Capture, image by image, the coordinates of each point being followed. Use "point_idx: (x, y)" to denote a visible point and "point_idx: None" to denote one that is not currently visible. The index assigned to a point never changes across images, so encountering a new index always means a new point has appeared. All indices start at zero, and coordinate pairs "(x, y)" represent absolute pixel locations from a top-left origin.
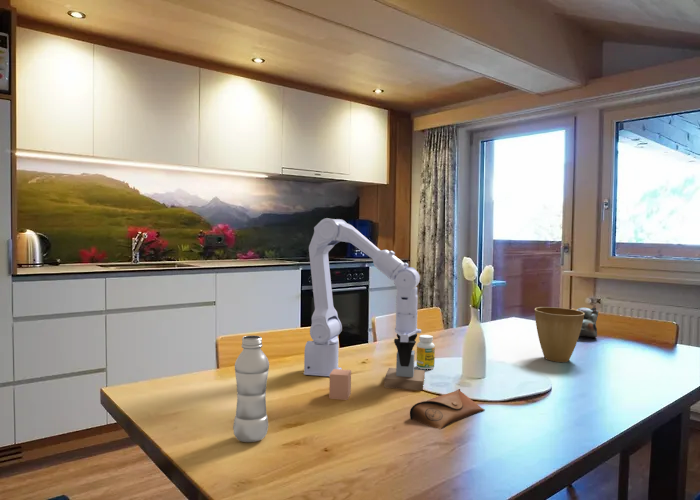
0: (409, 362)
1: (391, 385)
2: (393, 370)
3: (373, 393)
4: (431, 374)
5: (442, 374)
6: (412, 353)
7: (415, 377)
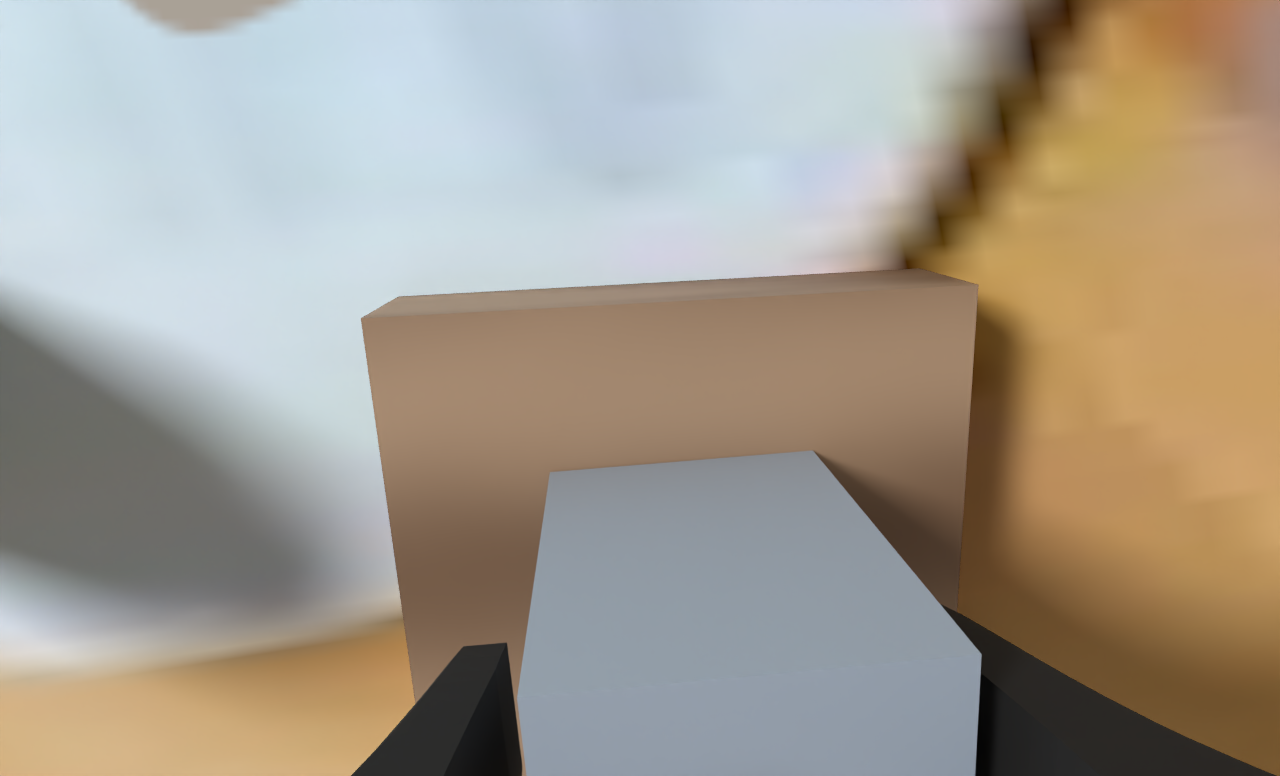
0: (991, 632)
1: None
2: None
3: None
4: (126, 215)
5: (38, 31)
6: (841, 702)
7: (810, 416)
